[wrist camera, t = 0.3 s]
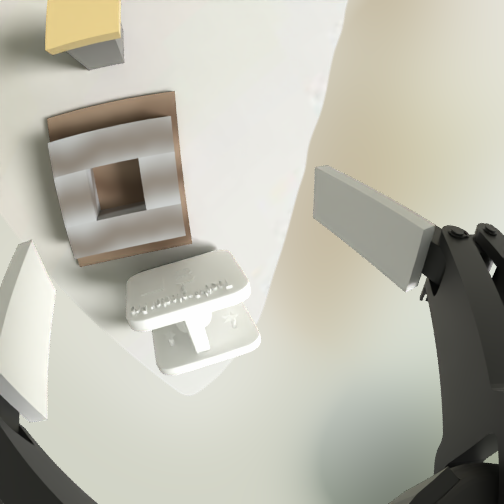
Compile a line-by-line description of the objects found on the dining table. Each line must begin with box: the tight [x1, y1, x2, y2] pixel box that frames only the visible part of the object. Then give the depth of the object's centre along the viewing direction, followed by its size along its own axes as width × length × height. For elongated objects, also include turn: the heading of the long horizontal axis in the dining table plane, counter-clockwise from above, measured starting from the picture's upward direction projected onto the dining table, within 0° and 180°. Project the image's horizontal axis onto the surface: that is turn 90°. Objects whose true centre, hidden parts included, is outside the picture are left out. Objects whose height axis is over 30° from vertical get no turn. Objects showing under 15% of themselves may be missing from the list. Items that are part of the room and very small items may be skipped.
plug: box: [45, 0, 124, 70], centre depth 20 cm, size 6×6×16 cm
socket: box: [47, 91, 192, 267], centre depth 32 cm, size 20×16×5 cm
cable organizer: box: [126, 250, 261, 376], centre depth 39 cm, size 15×11×12 cm
